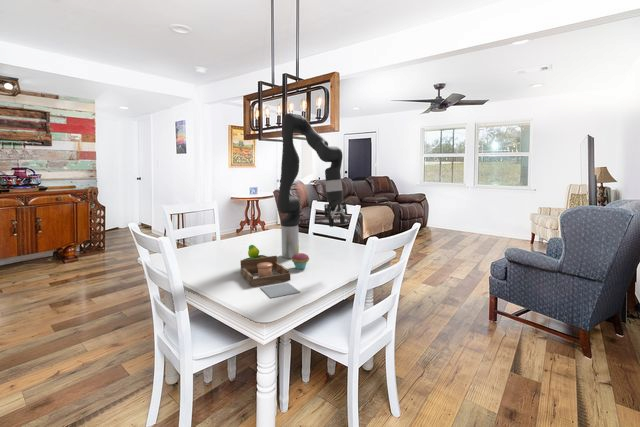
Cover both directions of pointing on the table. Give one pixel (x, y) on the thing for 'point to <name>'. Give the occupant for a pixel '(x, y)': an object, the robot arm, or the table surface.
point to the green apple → (254, 253)
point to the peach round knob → (264, 269)
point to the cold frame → (251, 268)
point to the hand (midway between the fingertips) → (337, 225)
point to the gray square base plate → (280, 290)
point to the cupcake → (300, 259)
